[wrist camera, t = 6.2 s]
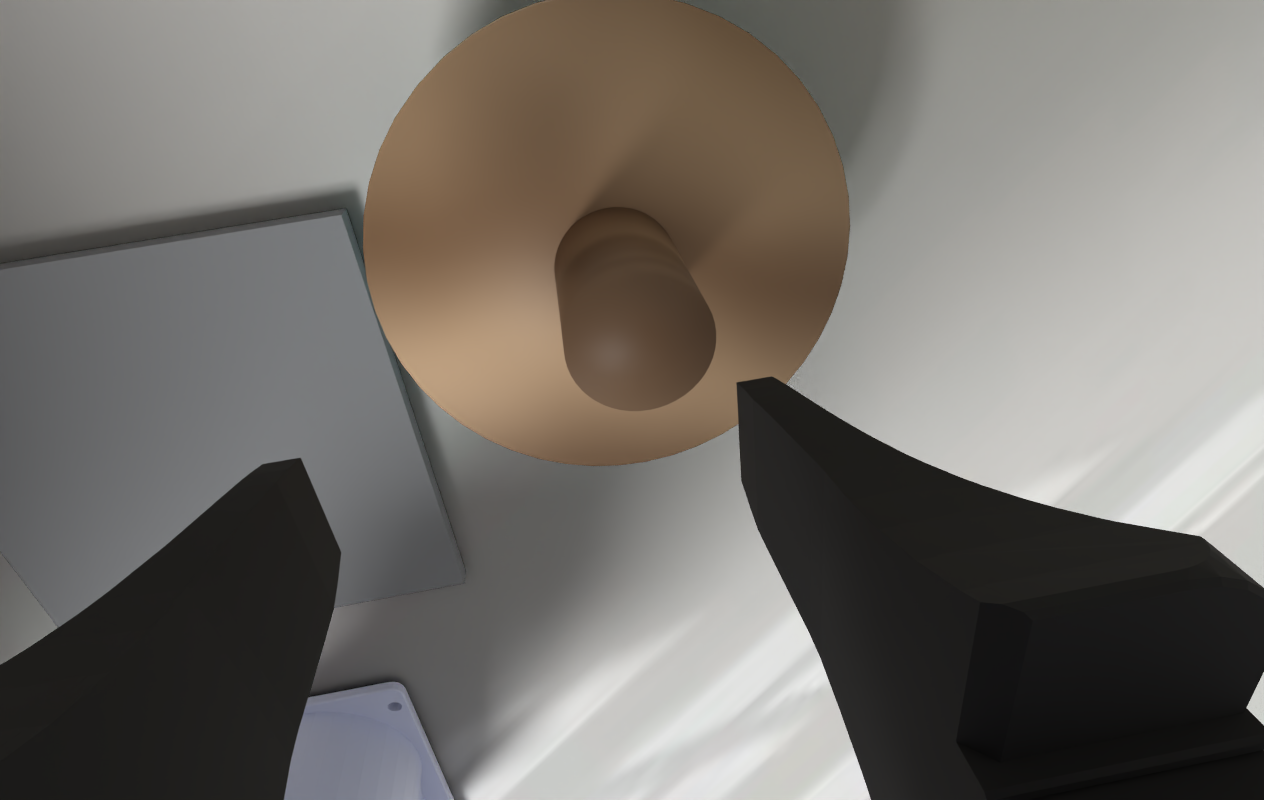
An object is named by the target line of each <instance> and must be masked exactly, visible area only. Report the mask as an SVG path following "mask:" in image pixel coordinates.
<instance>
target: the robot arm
mask: <svg viewBox="0 0 1264 800" xmlns="http://www.w3.org/2000/svg"><path fill="white" fill-rule="evenodd" d="M736 385H737V404H738V423H739V442H740V461H741V480H742V483H743V486H744V490H745V493H746V496H747V499H748V502H749V505H750V508H751V511H752V514H753V516H754V519H755V522H756V525H757V528H758V530H759V532H760V534H761V537H762V539H763V541H764V543H765V545H766V547H767V549H768V551H769V553H770V555H771V557H772V559H773V561H774V563H775V565H776V567H777V569H778V571H779V573H780V575H781V577H782V579H783V581H784V583H785V585H786V587H787V589H788V591H789V593H790V595H791V597H792V599H793V601H794V603H795V605H796V607H797V609H798V611H799V613H800V615H801V617H802V619H803V621H804V623H805V625H806V627H807V629H808V631H809V633H810V635H811V638H812V640H813V642H814V644H815V647H816V649H817V651H818V653H819V656H820V658H821V660H822V663H823V666H824V668H825V671H826V674H827V676H828V679H829V682H830V685H831V687H832V690H833V693H834V695H835V698H836V701H837V703H838V706H839V709H840V711H841V714H842V717H843V720H844V723H845V725H846V728H847V731H848V734H849V737H850V740H851V742H852V745H853V748H854V751H855V754H856V757H857V759H858V762H859V765H860V768H861V771H862V774H863V777H864V780H865V783H866V785H867V788H868V791H869V794H870V797H871V800H1264V725H1263V724H1262V723H1261V722H1260V721H1259V720H1258V719H1257V718H1256V717H1255V716H1254V715H1253V714H1252V713H1251V712H1250V711H1249V710H1248V709H1247V708H1246V707H1247V705H1248V703H1249V701H1250V699H1251V697H1252V695H1253V693H1254V691H1255V689H1256V686H1257V684H1258V682H1259V680H1260V678H1261V676H1262V674H1263V672H1264V588H1263V587H1262V586H1261V585H1259V584H1258V583H1257V582H1256V581H1255V580H1253V579H1252V578H1251V577H1250V576H1249V575H1247V574H1246V573H1245V572H1244V571H1243V570H1241V569H1240V568H1239V567H1238V566H1236V565H1235V564H1234V563H1233V562H1232V561H1230V560H1229V559H1228V558H1227V557H1226V556H1224V555H1223V554H1222V553H1221V552H1220V551H1218V550H1217V549H1216V548H1215V547H1214V546H1212V545H1211V544H1210V543H1209V542H1207V541H1206V540H1205V539H1204V538H1202V537H1200V536H1195V535H1189V534H1183V533H1177V532H1172V531H1166V530H1160V529H1155V528H1149V527H1143V526H1137V525H1132V524H1126V523H1120V522H1115V521H1110V520H1105V519H1101V518H1097V517H1092V516H1088V515H1084V514H1080V513H1076V512H1071V511H1067V510H1063V509H1059V508H1055V507H1051V506H1048V505H1044V504H1040V503H1037V502H1033V501H1029V500H1026V499H1023V498H1020V497H1016V496H1013V495H1010V494H1007V493H1004V492H1001V491H998V490H995V489H992V488H989V487H985V486H982V485H980V484H977V483H974V482H971V481H969V480H966V479H963V478H960V477H958V476H955V475H953V474H951V473H948V472H946V471H943V470H941V469H938V468H936V467H934V466H931V465H929V464H926V463H924V462H922V461H919V460H917V459H915V458H913V457H911V456H909V455H906V454H904V453H902V452H900V451H898V450H896V449H894V448H893V447H891V446H889V445H887V444H885V443H883V442H881V441H879V440H877V439H875V438H873V437H871V436H869V435H868V434H866V433H864V432H862V431H860V430H859V429H857V428H855V427H853V426H852V425H850V424H848V423H846V422H845V421H843V420H841V419H840V418H838V417H836V416H835V415H833V414H832V413H830V412H828V411H827V410H825V409H823V408H822V407H820V406H819V405H817V404H816V403H814V402H812V401H811V400H809V399H808V398H806V397H805V396H803V395H801V394H800V393H798V392H797V391H795V390H794V389H792V388H791V387H789V386H787V385H786V384H784V383H783V382H781V381H779V380H778V379H776V378H774V377H772V376H771V377H765V378H759V379H753V380H748V381H742V382H736ZM340 560H341V550H340V548H339V546H338V543H337V541H336V539H335V536H334V534H333V532H332V529H331V527H330V525H329V522H328V520H327V518H326V515H325V513H324V511H323V508H322V506H321V504H320V501H319V499H318V497H317V494H316V492H315V490H314V487H313V485H312V483H311V480H310V478H309V476H308V473H307V471H306V469H305V466H304V464H303V462H302V459H301V458H295V459H289V460H283V461H278V462H272V463H266V464H262V465H261V466H259V467H258V468H256V469H255V470H254V471H252V472H251V473H250V474H248V475H247V476H246V477H245V478H243V479H242V480H241V481H240V482H238V483H237V484H236V485H235V486H234V487H233V488H231V489H230V490H229V491H228V492H227V493H226V494H224V495H223V496H222V497H221V498H220V499H219V500H217V501H216V502H215V503H214V504H213V505H212V506H211V507H209V508H208V509H207V510H206V511H205V512H204V513H203V514H201V515H200V516H199V517H198V518H197V519H196V520H194V521H193V522H192V523H191V524H190V525H189V526H188V527H186V528H185V529H184V530H183V531H182V532H181V533H179V534H178V535H177V536H176V537H175V538H174V539H172V540H171V541H170V542H169V543H168V544H167V545H165V546H164V547H163V548H162V549H161V550H159V551H158V552H157V553H156V554H154V555H153V556H152V557H151V558H149V559H148V560H147V561H146V562H144V563H143V564H142V565H141V566H139V567H138V568H137V569H136V570H134V571H133V572H132V573H131V574H130V575H128V576H127V577H126V578H125V579H123V580H122V581H121V582H120V583H118V584H117V585H116V586H115V587H113V588H112V589H111V590H110V591H108V592H107V593H106V594H104V595H103V596H102V597H100V598H99V599H98V600H96V601H95V602H94V603H92V604H91V605H90V606H88V607H87V608H85V609H84V610H83V611H81V612H80V613H79V614H77V615H76V616H74V617H73V618H71V619H70V620H69V621H67V622H66V623H64V624H63V625H61V626H60V627H58V628H57V629H56V630H54V631H53V632H51V633H50V634H48V635H47V636H45V637H44V638H42V639H41V640H40V641H38V642H37V643H35V644H33V645H32V646H30V647H29V648H27V649H26V650H24V651H23V652H21V653H19V654H18V655H16V656H15V657H13V658H11V659H10V660H8V661H6V662H5V663H3V664H1V665H0V800H454V798H453V796H452V794H451V791H450V789H449V787H448V784H447V782H446V780H445V778H444V775H443V773H442V771H441V768H440V766H439V764H438V762H437V759H436V757H435V755H434V752H433V750H432V748H431V746H430V743H429V741H428V739H427V736H426V734H425V732H424V730H423V727H422V725H421V723H420V720H419V718H418V716H417V714H416V711H415V709H414V707H413V704H412V702H411V700H410V698H409V695H408V693H407V691H406V688H405V687H404V686H403V685H402V684H400V683H398V682H386V683H381V684H376V685H370V686H365V687H360V688H355V689H350V690H345V691H339V692H334V693H329V694H324V695H319V696H313V697H308V696H309V693H310V690H311V686H312V683H313V679H314V676H315V673H316V669H317V666H318V663H319V659H320V656H321V652H322V649H323V645H324V642H325V638H326V635H327V631H328V628H329V624H330V621H331V617H332V613H333V610H334V605H335V598H336V592H337V585H338V577H339V569H340Z"/></svg>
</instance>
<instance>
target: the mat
mask: <svg viewBox="0 0 1264 800" xmlns="http://www.w3.org/2000/svg"><path fill="white" fill-rule="evenodd" d="M295 458H301V459H302V462H303V464H304V466H305V469H306V471H307V473H308V476H309V478H310V480H311V483H312V485H313V487H314V490H315V492H316V494H317V497H318V499H319V501H320V504H321V506H322V508H323V511H324V513H325V515H326V518H327V520H328V522H329V525H330V527H331V529H332V532H333V534H334V536H335V539H336V541H337V543H338V546H339V548H340V550H341V560H340V569H339V577H338V585H337V592H336V598H335V605H334V608H336V607H341V606H346V605H352V604H357V603H362V602H368V601H373V600H378V599H384V598H389V597H394V596H400V595H405V594H410V593H416V592H421V591H426V590H432V589H437V588H442V587H448V586H453V585H458V584H464V583H465V573H466V571H465V568H464V565H463V561H462V558H461V555H460V552H459V549H458V546H457V543H456V540H455V537H454V534H453V531H452V528H451V525H450V522H449V519H448V516H447V513H446V510H445V507H444V504H443V501H442V498H441V495H440V492H439V489H438V486H437V483H436V480H435V477H434V474H433V471H432V468H431V464H430V461H429V458H428V455H427V452H426V449H425V446H424V443H423V440H422V437H421V434H420V431H419V428H418V425H417V422H416V419H415V416H414V413H413V410H412V407H411V404H410V401H409V398H408V395H407V392H406V389H405V386H404V383H403V380H402V377H401V374H400V371H399V367H398V364H397V361H396V358H395V355H394V352H393V349H392V347H391V345H390V343H389V341H388V340H387V338H386V336H385V333H384V331H383V328H382V326H381V324H380V321H379V319H378V317H377V314H376V312H375V309H374V305H373V301H372V298H371V294H370V290H369V286H368V283H367V277H366V269H365V264H364V261H363V258H362V255H361V252H360V249H359V246H358V243H357V240H356V237H355V234H354V231H353V228H352V225H351V222H350V219H349V216H348V213H347V210H346V208H344V209H338V210H332V211H326V212H320V213H313V214H307V215H301V216H295V217H288V218H282V219H276V220H270V221H264V222H257V223H251V224H245V225H239V226H232V227H226V228H220V229H214V230H207V231H201V232H195V233H189V234H183V235H176V236H170V237H164V238H158V239H151V240H145V241H139V242H133V243H127V244H120V245H114V246H108V247H102V248H95V249H89V250H83V251H77V252H71V253H64V254H58V255H52V256H46V257H39V258H33V259H27V260H21V261H14V262H8V263H2V264H0V552H1V553H2V555H3V556H4V557H5V559H6V560H7V561H8V563H9V564H10V565H11V567H12V568H13V569H14V570H15V572H16V573H17V574H18V576H19V577H20V578H21V580H22V581H23V582H24V584H25V585H26V586H27V587H28V589H29V590H30V591H31V593H32V594H33V595H34V597H35V598H36V599H37V601H38V602H39V603H40V605H41V606H42V607H43V608H44V610H45V611H46V612H47V614H48V615H49V616H50V618H51V619H52V620H53V622H54V623H55V624H56V625H57V627H60V626H61V625H63V624H64V623H66V622H67V621H69V620H70V619H71V618H73V617H74V616H76V615H77V614H79V613H80V612H81V611H83V610H84V609H85V608H87V607H88V606H90V605H91V604H92V603H94V602H95V601H96V600H98V599H99V598H100V597H102V596H103V595H104V594H106V593H107V592H108V591H110V590H111V589H112V588H113V587H115V586H116V585H117V584H118V583H120V582H121V581H122V580H123V579H125V578H126V577H127V576H128V575H130V574H131V573H132V572H133V571H134V570H136V569H137V568H138V567H139V566H141V565H142V564H143V563H144V562H146V561H147V560H148V559H149V558H151V557H152V556H153V555H154V554H156V553H157V552H158V551H159V550H161V549H162V548H163V547H164V546H165V545H167V544H168V543H169V542H170V541H171V540H172V539H174V538H175V537H176V536H177V535H178V534H179V533H181V532H182V531H183V530H184V529H185V528H186V527H188V526H189V525H190V524H191V523H192V522H193V521H194V520H196V519H197V518H198V517H199V516H200V515H201V514H203V513H204V512H205V511H206V510H207V509H208V508H209V507H211V506H212V505H213V504H214V503H215V502H216V501H217V500H219V499H220V498H221V497H222V496H223V495H224V494H226V493H227V492H228V491H229V490H230V489H231V488H233V487H234V486H235V485H236V484H237V483H238V482H240V481H241V480H242V479H243V478H245V477H246V476H247V475H248V474H250V473H251V472H252V471H254V470H255V469H256V468H258V467H259V466H261V465H262V464H266V463H272V462H278V461H283V460H289V459H295Z"/></svg>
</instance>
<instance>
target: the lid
mask: <svg viewBox="0 0 1264 800" xmlns="http://www.w3.org/2000/svg"><path fill="white" fill-rule="evenodd" d="M849 231H850V218H849V196H848V191H847V185H846V180H845V174H844V169H843V165H842V162H841V158H840V155H839V152H838V149H837V146H836V143H835V140H834V137H833V135H832V133H831V131H830V129H829V127H828V125H827V123H826V121H825V119H824V117H823V115H822V113H821V111H820V109H819V107H818V105H817V104H816V102H815V101H814V99H813V98H812V97H811V95H810V94H809V92H808V91H807V89H806V88H805V86H804V85H803V84H802V82H801V81H800V79H799V78H798V77H797V76H796V75H795V74H794V73H793V72H792V71H791V70H790V69H789V68H788V67H787V66H786V64H785V63H784V62H783V61H782V60H781V59H780V58H779V57H778V56H777V55H776V54H775V53H773V52H772V51H771V50H770V49H768V48H767V47H766V46H765V45H763V44H762V43H761V42H760V41H758V40H757V39H756V38H754V37H753V36H752V35H751V34H749V33H748V32H746V31H744V30H742V29H741V28H739V27H737V26H735V25H734V24H732V23H730V22H728V21H727V20H725V19H723V18H721V17H720V16H717V15H715V14H712V13H710V12H707V11H704V10H702V9H699V8H697V7H694V6H691V5H689V4H686V3H683V2H678V1H674V0H545V1H541V2H537V3H534V4H532V5H529V6H527V7H524V8H522V9H519V10H517V11H514V12H512V13H509V14H507V15H504V16H502V17H500V18H499V19H497V20H495V21H493V22H492V23H490V24H488V25H487V26H485V27H483V28H482V29H480V30H478V31H476V32H475V33H473V34H471V35H470V36H469V37H468V38H466V39H465V40H464V41H463V42H461V43H460V44H459V45H458V46H456V47H455V48H454V49H453V50H452V51H450V52H449V53H448V54H447V55H445V56H444V57H443V58H442V59H441V60H440V61H439V62H438V64H437V65H436V66H435V67H434V68H433V69H432V70H431V71H430V72H429V73H428V74H427V75H426V77H425V78H424V79H423V80H422V81H421V82H420V83H419V84H418V86H417V87H416V88H415V89H414V91H413V92H412V94H411V95H410V97H409V98H408V100H407V101H406V103H405V104H404V105H403V107H402V108H401V110H400V111H399V113H398V114H397V116H396V117H395V119H394V121H393V123H392V125H391V127H390V129H389V131H388V133H387V135H386V137H385V139H384V142H383V144H382V146H381V148H380V150H379V153H378V156H377V159H376V162H375V165H374V169H373V172H372V175H371V178H370V181H369V186H368V192H367V198H366V204H365V210H364V221H363V253H364V261H365V269H366V277H367V283H368V286H369V290H370V294H371V298H372V301H373V305H374V309H375V312H376V314H377V317H378V319H379V321H380V324H381V326H382V328H383V331H384V333H385V336H386V338H387V340H388V341H389V343H390V345H391V347H392V348H393V350H394V352H395V353H396V355H397V357H398V358H399V360H400V362H401V364H402V365H403V366H404V368H405V369H406V370H407V371H408V373H409V374H410V375H411V377H412V378H413V379H414V380H415V382H416V383H417V384H418V385H419V387H420V388H421V389H422V390H423V391H424V392H425V393H426V394H427V395H428V396H429V397H430V398H431V399H432V400H433V401H434V402H435V403H436V404H437V405H438V406H439V407H440V408H442V409H443V410H444V411H445V412H447V413H448V414H449V415H451V416H452V417H453V418H455V419H456V420H457V421H458V422H460V423H461V424H462V425H464V426H466V427H467V428H469V429H471V430H472V431H474V432H476V433H477V434H479V435H481V436H482V437H484V438H486V439H488V440H490V441H492V442H494V443H497V444H499V445H501V446H503V447H506V448H508V449H510V450H513V451H516V452H519V453H522V454H525V455H528V456H532V457H535V458H538V459H543V460H548V461H553V462H559V463H564V464H574V465H586V466H609V465H624V464H632V463H639V462H646V461H650V460H654V459H658V458H663V457H667V456H671V455H674V454H677V453H679V452H682V451H685V450H688V449H691V448H693V447H696V446H698V445H701V444H703V443H705V442H707V441H709V440H711V439H713V438H715V437H717V436H719V435H721V434H723V433H724V432H726V431H728V430H729V429H731V428H732V427H734V426H736V425H737V424H739V423H738V404H737V385H736V382H742V381H748V380H753V379H759V378H765V377H771V376H772V377H774V378H776V379H778V380H779V381H781V382H783V383H784V384H786V383H787V382H788V381H789V379H790V378H791V377H792V376H793V375H794V373H795V372H796V371H797V370H798V368H799V367H800V366H801V365H802V364H803V362H804V361H805V359H806V358H807V356H808V355H809V353H810V352H811V350H812V348H813V347H814V345H815V344H816V342H817V341H818V339H819V337H820V335H821V333H822V331H823V329H824V327H825V325H826V323H827V321H828V319H829V317H830V315H831V313H832V310H833V307H834V304H835V301H836V299H837V296H838V293H839V290H840V287H841V284H842V279H843V274H844V270H845V265H846V260H847V255H848V243H849Z"/></svg>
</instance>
